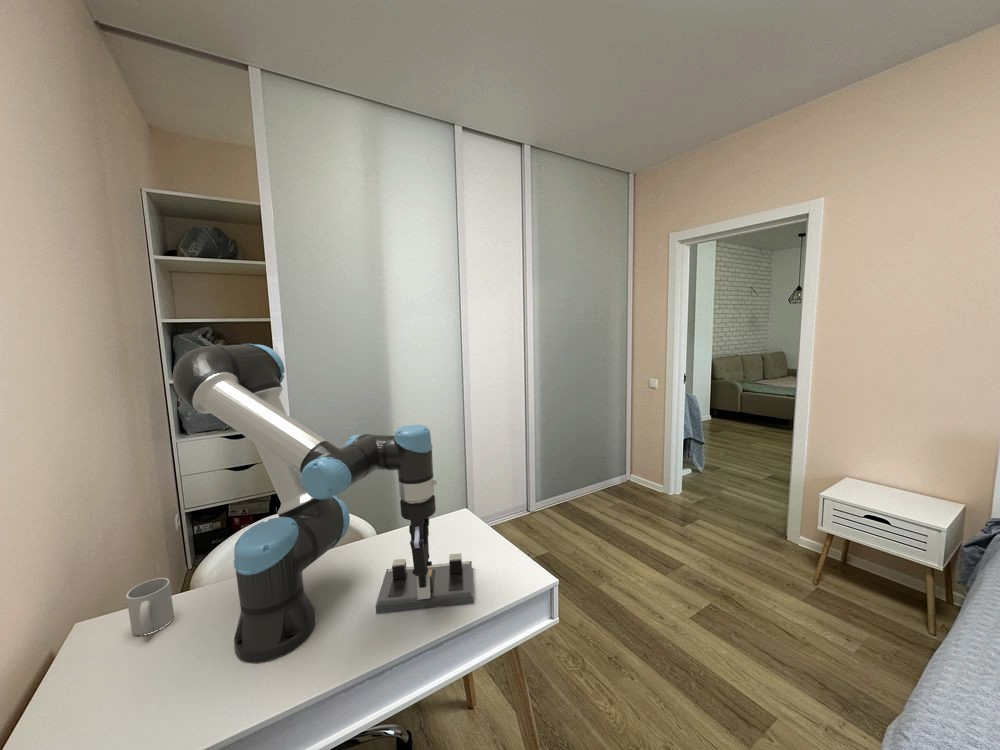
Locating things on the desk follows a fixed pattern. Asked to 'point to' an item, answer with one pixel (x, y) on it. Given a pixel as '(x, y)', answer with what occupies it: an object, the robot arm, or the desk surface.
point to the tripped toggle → (431, 579)
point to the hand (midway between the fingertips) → (424, 596)
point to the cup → (150, 606)
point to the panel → (447, 591)
